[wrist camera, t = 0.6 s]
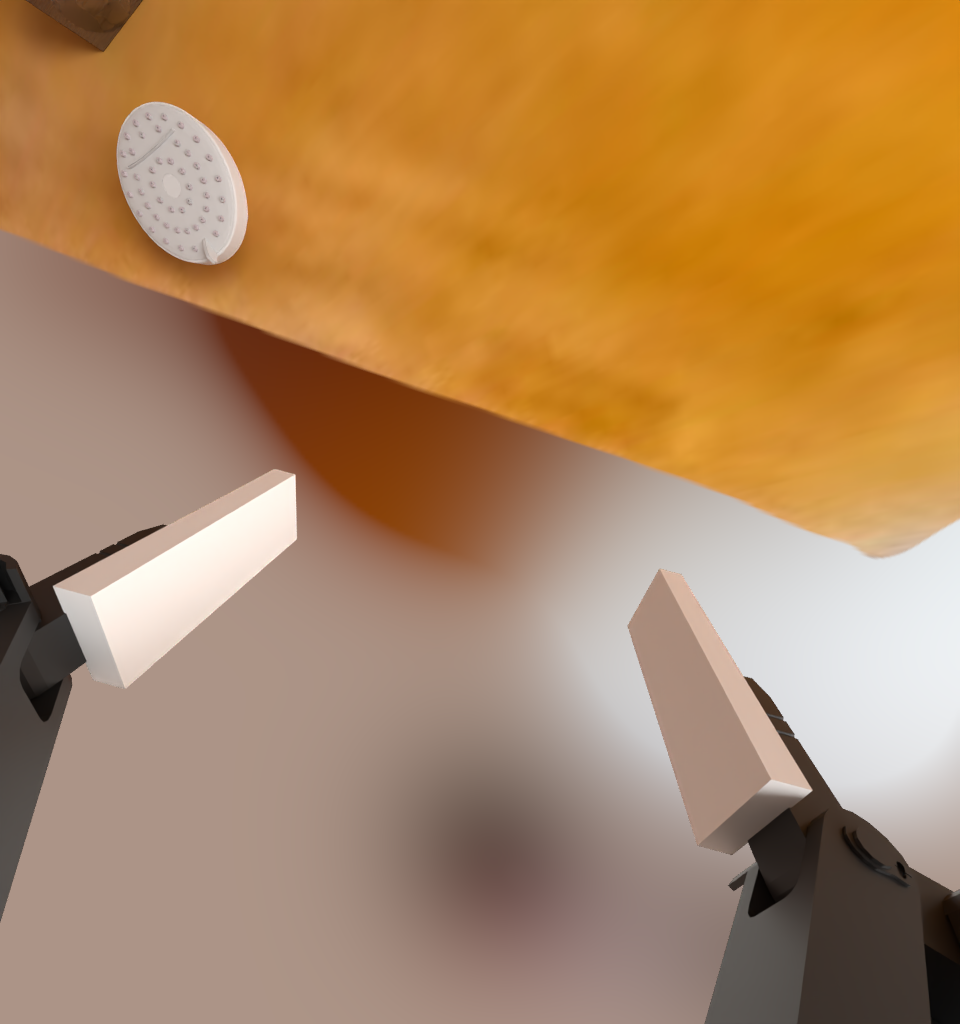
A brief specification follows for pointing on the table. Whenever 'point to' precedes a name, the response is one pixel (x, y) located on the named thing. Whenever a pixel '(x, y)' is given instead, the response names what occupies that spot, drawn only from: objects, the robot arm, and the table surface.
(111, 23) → the pipe in
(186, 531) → the robot arm
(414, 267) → the table surface
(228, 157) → the showerhead
